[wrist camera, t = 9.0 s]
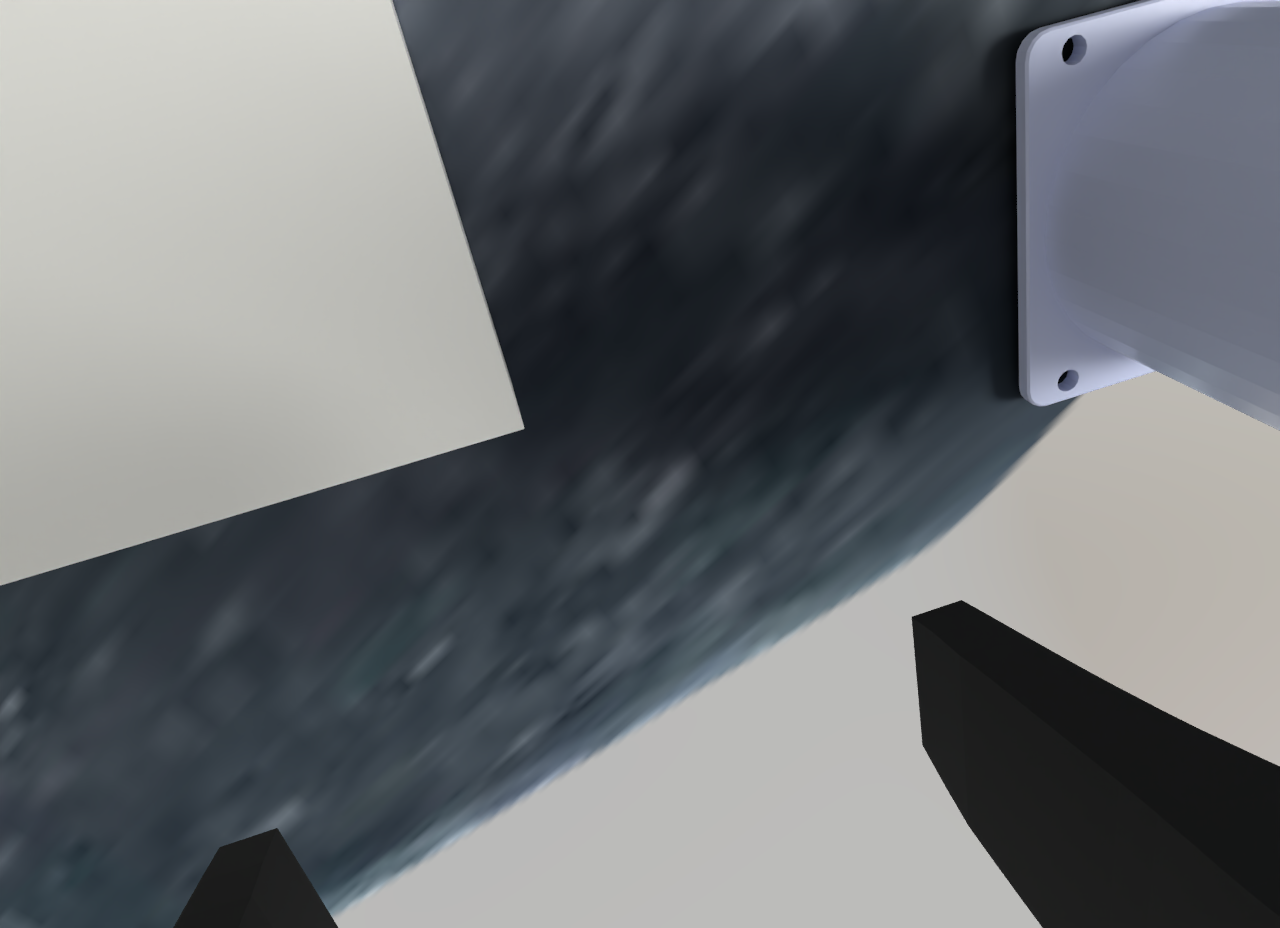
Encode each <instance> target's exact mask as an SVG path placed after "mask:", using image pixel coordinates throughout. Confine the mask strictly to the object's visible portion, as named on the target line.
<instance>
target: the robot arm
mask: <svg viewBox="0 0 1280 928" xmlns="http://www.w3.org/2000/svg"><path fill="white" fill-rule="evenodd" d="M1070 37H1071V38H1072V40H1073V44H1074V47H1073V52H1072V55H1071V56H1070V57H1069V59H1068V60H1067V61H1066V62H1064V61H1063V58H1062V50H1063V45H1064V44H1065V43H1066V41H1067V40H1068V39H1069V38H1070ZM1016 142H1017V237H1018V331H1019V389H1020V394H1021V395H1022V396H1023V398H1024V399H1025V400H1027V401H1029V402H1030V403H1032V404H1034V405H1037V406H1046V405H1050V404H1053V403H1056V402H1059V401H1062V400H1066V399H1069V398H1072V397H1075V396H1078V395H1082V394H1085V393H1088V392H1091V391H1094V390H1097V389H1100V388H1104V387H1107V386H1110V385H1113V384H1117V383H1120V382H1123V381H1126V380H1129V379H1132V378H1135V377H1139V376H1142V375H1145V374H1148V373H1151V372H1154V371H1157V372H1160V373H1162V374H1164V375H1166V376H1168V377H1170V378H1172V379H1174V380H1176V381H1178V382H1180V383H1182V384H1184V385H1186V386H1188V387H1191V388H1193V389H1195V390H1197V391H1199V392H1201V393H1203V394H1205V395H1207V396H1209V397H1212V398H1214V399H1215V400H1217V401H1219V402H1222V403H1224V404H1226V405H1228V406H1230V407H1232V408H1234V409H1236V410H1238V411H1240V412H1242V413H1244V414H1246V415H1249V416H1250V417H1252V418H1255V419H1257V420H1259V421H1261V422H1263V423H1265V424H1267V425H1269V426H1271V427H1273V428H1275V429H1277V430H1280V0H1141V1H1137V2H1133V3H1129V4H1126V5H1122V6H1118V7H1115V8H1111V9H1107V10H1103V11H1100V12H1096V13H1092V14H1089V15H1085V16H1081V17H1077V18H1074V19H1070V20H1066V21H1063V22H1059V23H1055V24H1051V25H1048V26H1044V27H1040V28H1038V29H1036V30H1034V31H1032V32H1030V33H1029V34H1028V35H1027V36H1026V37H1025V38H1024V40H1023V41H1022V43H1021V45H1020V47H1019V49H1018V51H1017V57H1016ZM1067 370H1068V372H1067V376H1066V378H1065V379H1064V380H1063V382H1061V383H1059V384H1058V380H1059V378H1060V376H1061V375H1062V374H1063V373H1064V372H1066V371H1067ZM912 626H913V637H914V648H915V660H916V673H917V684H918V696H919V707H920V718H921V719H920V720H921V732H922V743H923V747H924V748H925V750H926V752H927V754H928V756H929V757H930V759H931V761H932V763H933V765H934V766H935V768H936V770H937V772H938V774H939V775H940V777H941V779H942V781H943V783H944V784H945V786H946V788H947V790H948V791H949V793H950V795H951V796H952V798H953V800H954V802H955V803H956V805H957V807H958V809H959V810H960V812H961V813H962V815H963V817H964V819H965V820H966V822H967V824H968V826H969V827H970V828H971V830H972V831H973V833H974V834H975V835H976V837H977V838H978V840H979V841H980V842H981V844H982V845H983V847H984V848H985V849H986V851H987V852H988V854H989V855H990V856H991V858H992V859H993V860H994V862H995V863H996V865H997V866H998V867H999V869H1000V870H1001V871H1002V873H1003V874H1004V876H1005V877H1006V878H1007V880H1008V881H1009V882H1010V884H1011V885H1012V886H1013V888H1014V889H1015V891H1016V892H1017V893H1018V895H1019V896H1020V897H1021V899H1022V900H1023V902H1024V903H1025V904H1026V905H1027V907H1028V908H1029V910H1030V911H1031V912H1032V914H1033V915H1034V917H1035V918H1036V919H1037V921H1038V922H1039V923H1040V924H1041V926H1042V927H1043V928H1280V766H1277V765H1275V764H1273V763H1271V762H1268V761H1266V760H1264V759H1262V758H1260V757H1258V756H1256V755H1253V754H1251V753H1249V752H1247V751H1245V750H1243V749H1241V748H1239V747H1237V746H1234V745H1232V744H1230V743H1228V742H1226V741H1224V740H1222V739H1219V738H1217V737H1215V736H1213V735H1211V734H1208V733H1207V732H1205V731H1202V730H1200V729H1198V728H1196V727H1194V726H1192V725H1190V724H1188V723H1186V722H1184V721H1182V720H1180V719H1178V718H1176V717H1174V716H1172V715H1170V714H1168V713H1166V712H1164V711H1162V710H1160V709H1158V708H1156V707H1154V706H1153V705H1151V704H1149V703H1147V702H1145V701H1143V700H1141V699H1139V698H1137V697H1135V696H1133V695H1131V694H1130V693H1128V692H1126V691H1124V690H1122V689H1120V688H1118V687H1116V686H1114V685H1113V684H1110V683H1109V682H1107V681H1105V680H1103V679H1101V678H1099V677H1098V676H1096V675H1094V674H1092V673H1090V672H1088V671H1087V670H1085V669H1083V668H1081V667H1079V666H1077V665H1076V664H1074V663H1072V662H1070V661H1069V660H1067V659H1065V658H1063V657H1061V656H1060V655H1058V654H1056V653H1054V652H1052V651H1051V650H1049V649H1047V648H1045V647H1044V646H1042V645H1040V644H1038V643H1036V642H1035V641H1033V640H1031V639H1029V638H1027V637H1026V636H1024V635H1022V634H1021V633H1019V632H1017V631H1015V630H1014V629H1012V628H1010V627H1008V626H1006V625H1005V624H1003V623H1001V622H999V621H998V620H996V619H994V618H992V617H991V616H989V615H987V614H985V613H984V612H982V611H980V610H978V609H976V608H975V607H973V606H971V605H969V604H967V603H965V602H964V601H962V600H961V601H958V602H955V603H952V604H949V605H946V606H943V607H940V608H937V609H934V610H931V611H928V612H925V613H922V614H919V615H916V616H913V617H912ZM174 928H338V926H337V925H336V923H335V922H334V920H333V918H332V917H331V915H330V913H329V912H328V910H327V909H326V907H325V905H324V904H323V902H322V900H321V899H320V897H319V895H318V894H317V892H316V891H315V889H314V887H313V886H312V884H311V882H310V881H309V879H308V878H307V876H306V874H305V873H304V871H303V869H302V868H301V866H300V864H299V863H298V861H297V860H296V858H295V856H294V855H293V853H292V851H291V850H290V848H289V846H288V845H287V843H286V842H285V840H284V838H283V837H282V835H281V833H280V832H279V830H278V829H277V828H276V829H273V830H270V831H267V832H264V833H261V834H258V835H255V836H252V837H249V838H246V839H243V840H240V841H237V842H234V843H231V844H228V845H225V846H222V847H219V849H218V851H217V853H216V854H215V856H214V858H213V859H212V861H211V863H210V865H209V866H208V868H207V870H206V871H205V873H204V875H203V877H202V878H201V880H200V882H199V883H198V885H197V887H196V889H195V890H194V892H193V894H192V896H191V897H190V899H189V901H188V903H187V905H186V906H185V908H184V910H183V912H182V913H181V915H180V917H179V919H178V920H177V922H176V924H175V926H174Z"/></svg>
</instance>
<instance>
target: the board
mask: <svg viewBox="0 0 1280 928" xmlns="http://www.w3.org/2000/svg"><path fill="white" fill-rule="evenodd" d="M522 429H525V428H524V425H523V421H522V418H521V414H520V411H519V407H518V403H517V400H516V396H515V393H514V389H513V386H512V382H511V378H510V375H509V372H508V369H507V366H506V362H505V359H504V356H503V353H502V350H501V346H500V343H499V340H498V337H497V334H496V330H495V327H494V324H493V321H492V318H491V314H490V311H489V308H488V305H487V302H486V298H485V295H484V292H483V289H482V286H481V282H480V279H479V276H478V273H477V270H476V266H475V263H474V260H473V257H472V254H471V250H470V247H469V244H468V241H467V238H466V234H465V231H464V228H463V225H462V222H461V218H460V215H459V212H458V209H457V206H456V202H455V199H454V196H453V193H452V190H451V186H450V183H449V180H448V177H447V174H446V170H445V167H444V164H443V161H442V158H441V155H440V151H439V148H438V145H437V142H436V139H435V135H434V132H433V129H432V126H431V123H430V119H429V116H428V113H427V110H426V107H425V103H424V100H423V97H422V94H421V91H420V87H419V84H418V81H417V78H416V75H415V71H414V68H413V65H412V62H411V59H410V55H409V52H408V49H407V46H406V43H405V39H404V36H403V33H402V30H401V27H400V23H399V20H398V17H397V14H396V11H395V7H394V4H393V1H392V0H0V585H4V584H7V583H10V582H14V581H17V580H20V579H24V578H27V577H30V576H34V575H37V574H41V573H44V572H47V571H51V570H54V569H57V568H61V567H64V566H67V565H71V564H74V563H77V562H81V561H84V560H87V559H91V558H94V557H97V556H101V555H104V554H107V553H111V552H114V551H117V550H121V549H124V548H128V547H131V546H134V545H138V544H141V543H144V542H148V541H151V540H154V539H158V538H161V537H164V536H168V535H171V534H174V533H178V532H181V531H184V530H188V529H191V528H194V527H198V526H201V525H204V524H208V523H211V522H215V521H218V520H221V519H225V518H228V517H231V516H235V515H238V514H241V513H245V512H248V511H251V510H255V509H258V508H261V507H265V506H268V505H271V504H275V503H278V502H281V501H285V500H288V499H292V498H295V497H298V496H302V495H305V494H308V493H312V492H315V491H318V490H322V489H325V488H328V487H332V486H335V485H338V484H342V483H345V482H348V481H352V480H355V479H358V478H362V477H365V476H368V475H372V474H375V473H379V472H382V471H385V470H389V469H392V468H395V467H399V466H402V465H405V464H409V463H412V462H415V461H419V460H422V459H425V458H429V457H432V456H435V455H439V454H442V453H445V452H449V451H452V450H455V449H459V448H462V447H466V446H469V445H472V444H476V443H479V442H482V441H486V440H489V439H492V438H496V437H499V436H502V435H506V434H509V433H512V432H516V431H519V430H522Z"/></svg>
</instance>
